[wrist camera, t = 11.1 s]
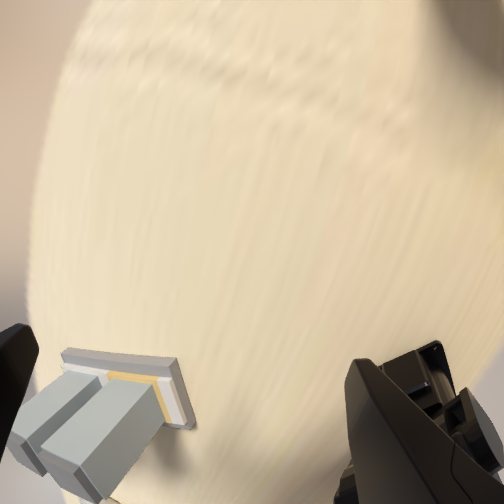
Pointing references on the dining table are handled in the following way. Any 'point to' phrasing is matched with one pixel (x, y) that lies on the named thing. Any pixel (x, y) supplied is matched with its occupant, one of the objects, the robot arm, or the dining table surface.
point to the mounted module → (49, 415)
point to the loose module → (103, 439)
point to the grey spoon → (104, 503)
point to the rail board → (138, 378)
